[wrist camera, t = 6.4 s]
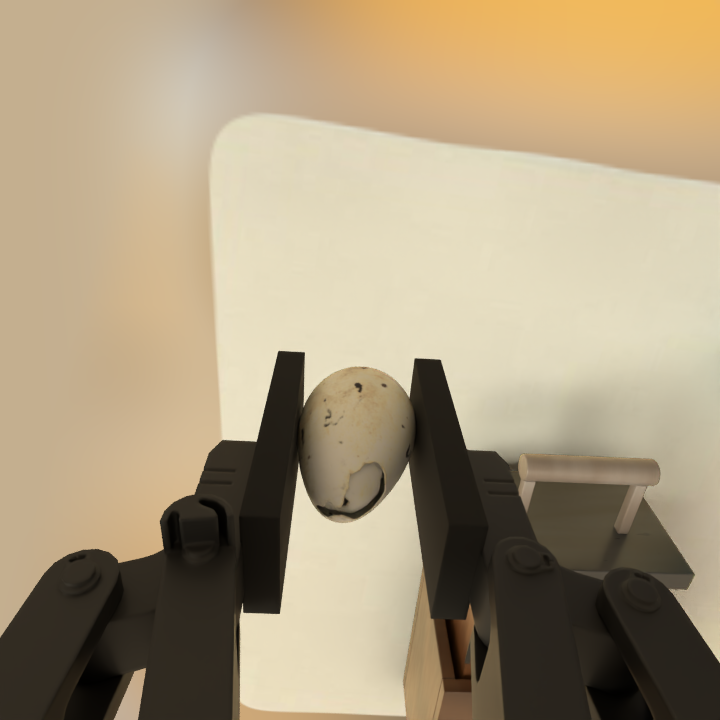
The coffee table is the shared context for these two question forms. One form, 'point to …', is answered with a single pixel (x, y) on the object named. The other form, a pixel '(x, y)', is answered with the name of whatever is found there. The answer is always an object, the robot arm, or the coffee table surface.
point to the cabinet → (433, 670)
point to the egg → (354, 441)
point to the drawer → (589, 524)
